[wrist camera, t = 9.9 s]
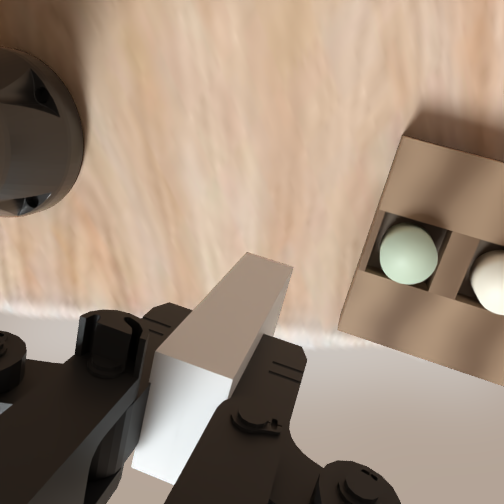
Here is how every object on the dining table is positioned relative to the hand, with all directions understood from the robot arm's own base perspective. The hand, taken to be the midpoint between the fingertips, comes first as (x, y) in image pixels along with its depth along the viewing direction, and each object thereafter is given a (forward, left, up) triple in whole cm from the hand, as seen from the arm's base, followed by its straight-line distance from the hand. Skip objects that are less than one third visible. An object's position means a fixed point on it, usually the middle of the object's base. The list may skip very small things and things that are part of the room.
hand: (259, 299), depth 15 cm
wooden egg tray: (+14, -3, -26) cm, 30 cm away
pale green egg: (+7, -3, -25) cm, 26 cm away
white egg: (+14, -3, -25) cm, 28 cm away
